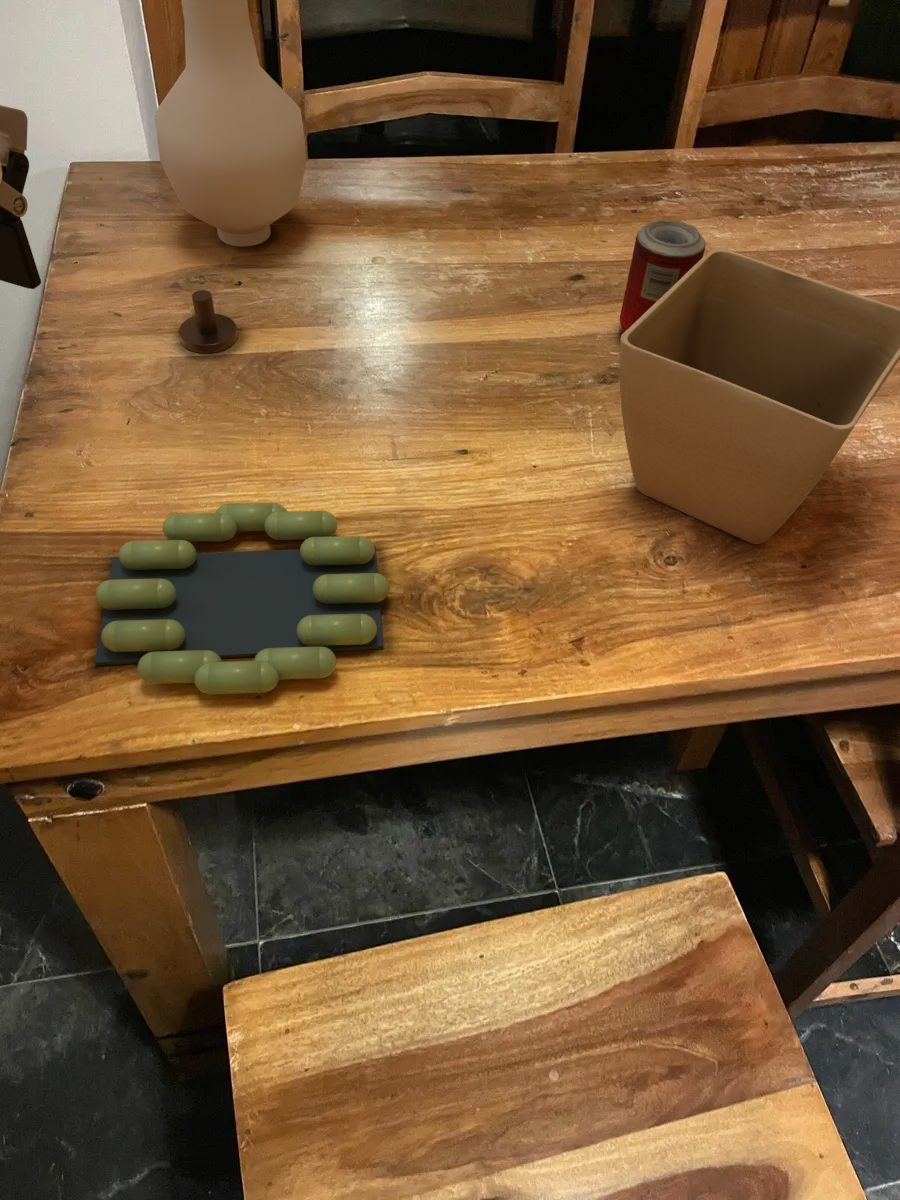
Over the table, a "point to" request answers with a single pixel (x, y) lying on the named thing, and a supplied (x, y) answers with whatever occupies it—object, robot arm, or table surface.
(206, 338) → the ring stand
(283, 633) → the mat
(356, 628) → the ring
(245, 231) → the vase
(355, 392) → the table surface
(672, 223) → the soda can
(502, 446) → the table surface
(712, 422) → the flower pot
